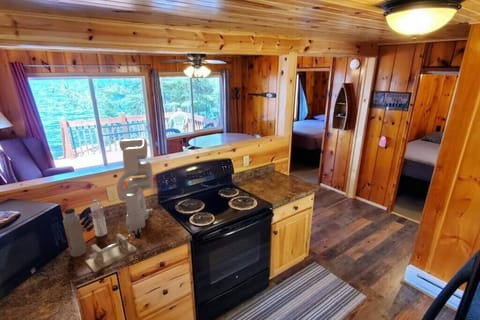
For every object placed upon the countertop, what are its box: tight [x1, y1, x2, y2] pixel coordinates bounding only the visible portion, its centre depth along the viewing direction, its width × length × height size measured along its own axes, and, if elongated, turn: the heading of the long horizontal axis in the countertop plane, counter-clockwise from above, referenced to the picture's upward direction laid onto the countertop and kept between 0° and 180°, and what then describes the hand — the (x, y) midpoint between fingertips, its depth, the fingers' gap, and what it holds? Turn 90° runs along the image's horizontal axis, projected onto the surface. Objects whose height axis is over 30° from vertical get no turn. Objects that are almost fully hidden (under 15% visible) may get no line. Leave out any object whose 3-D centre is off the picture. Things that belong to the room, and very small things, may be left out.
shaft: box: [88, 233, 134, 259], centre depth 148 cm, size 24×4×4 cm, turn 140°
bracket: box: [84, 233, 137, 273], centre depth 147 cm, size 24×12×10 cm, turn 140°
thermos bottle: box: [62, 208, 87, 258], centre depth 148 cm, size 8×8×28 cm
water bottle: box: [90, 199, 108, 238], centre depth 167 cm, size 7×7×25 cm
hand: (138, 237), depth 160 cm, fingers closed
